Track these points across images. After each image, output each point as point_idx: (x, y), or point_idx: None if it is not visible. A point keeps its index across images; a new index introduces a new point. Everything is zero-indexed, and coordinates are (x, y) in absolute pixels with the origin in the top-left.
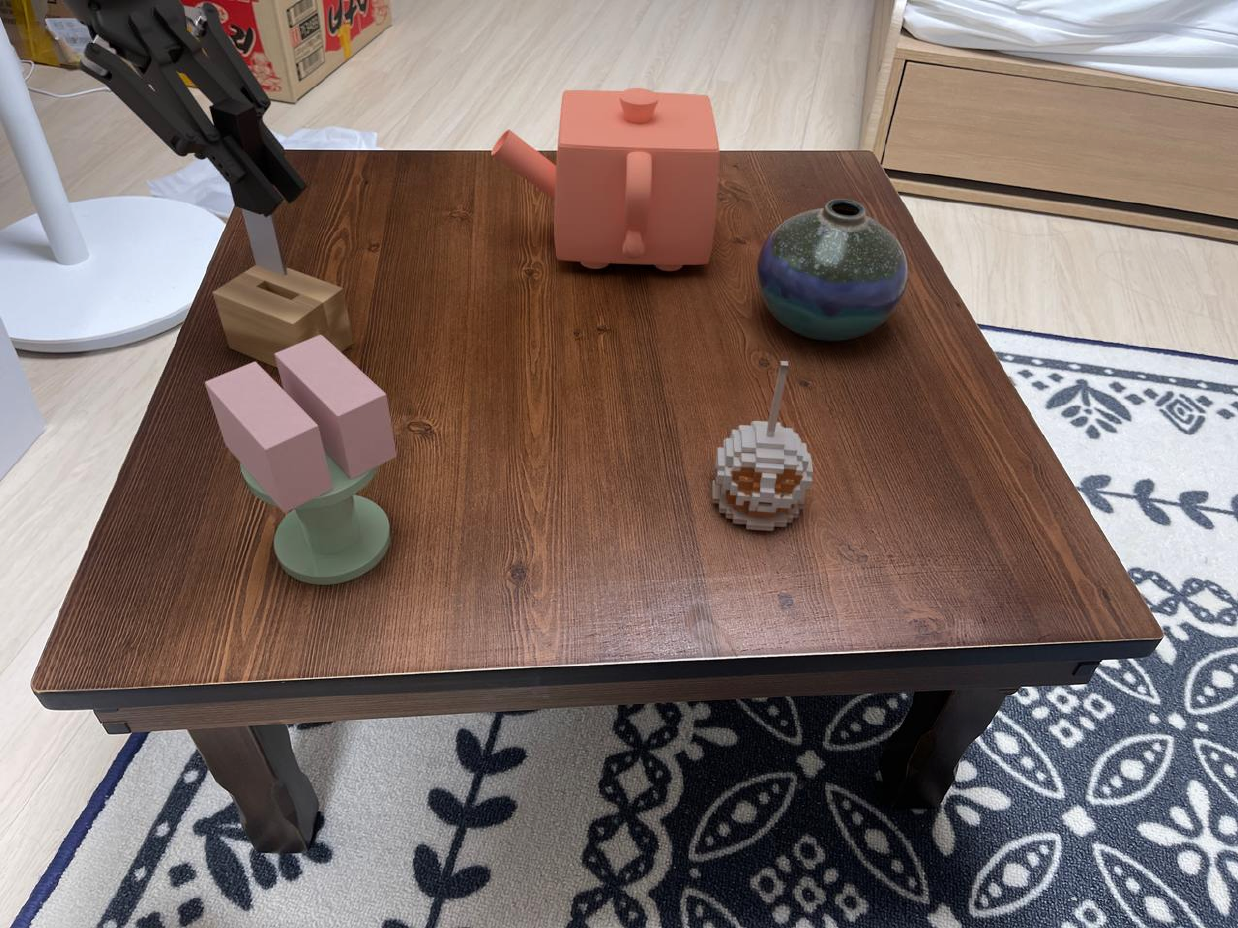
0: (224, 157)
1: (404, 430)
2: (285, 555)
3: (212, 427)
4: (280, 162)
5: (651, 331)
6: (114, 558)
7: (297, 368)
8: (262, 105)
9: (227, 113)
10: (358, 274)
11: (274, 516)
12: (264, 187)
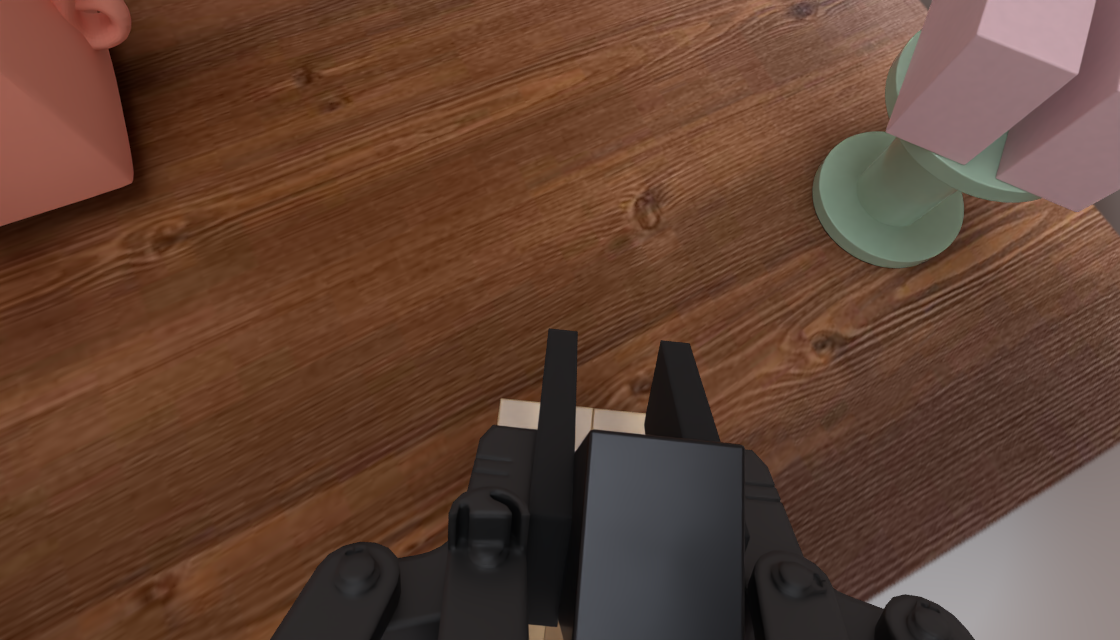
0: (769, 514)
1: (663, 228)
2: (951, 224)
3: (808, 501)
4: (574, 389)
5: (286, 15)
6: (1072, 436)
7: (1080, 16)
8: (393, 563)
9: (744, 514)
10: (278, 557)
11: (893, 293)
12: (699, 378)
